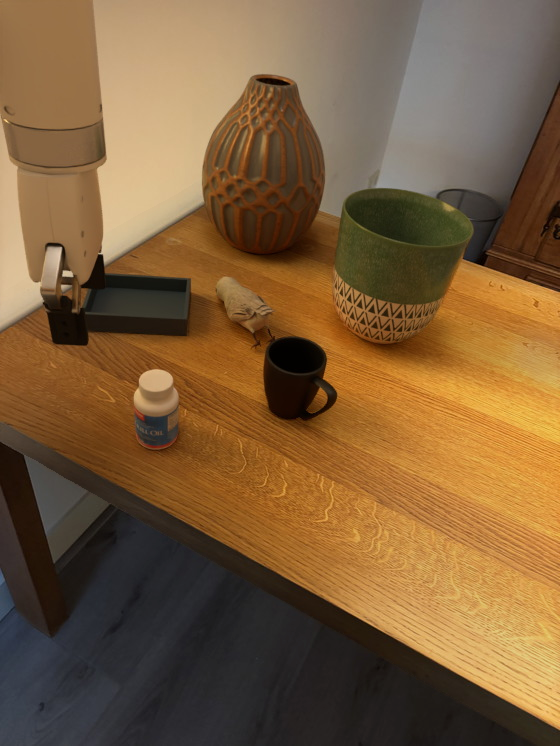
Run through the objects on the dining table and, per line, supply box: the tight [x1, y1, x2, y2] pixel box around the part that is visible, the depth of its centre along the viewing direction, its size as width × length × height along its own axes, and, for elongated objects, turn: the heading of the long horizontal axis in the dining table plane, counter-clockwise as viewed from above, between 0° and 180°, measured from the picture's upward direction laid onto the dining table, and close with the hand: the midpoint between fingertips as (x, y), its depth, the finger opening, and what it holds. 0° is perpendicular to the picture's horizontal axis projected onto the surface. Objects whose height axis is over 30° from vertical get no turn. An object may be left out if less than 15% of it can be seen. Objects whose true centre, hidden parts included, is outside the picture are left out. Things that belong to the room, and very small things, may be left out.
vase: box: [201, 73, 326, 255], centre depth 105 cm, size 24×24×30 cm
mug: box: [262, 335, 338, 422], centre depth 73 cm, size 8×12×10 cm
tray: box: [81, 272, 192, 337], centre depth 89 cm, size 16×12×3 cm
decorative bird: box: [215, 275, 277, 350], centre depth 89 cm, size 5×16×8 cm, turn 33°
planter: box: [331, 187, 475, 345], centre depth 87 cm, size 20×20×21 cm
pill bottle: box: [133, 368, 180, 451], centre depth 67 cm, size 6×5×10 cm
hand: (81, 313), depth 55 cm, fingers open, 9 cm apart
